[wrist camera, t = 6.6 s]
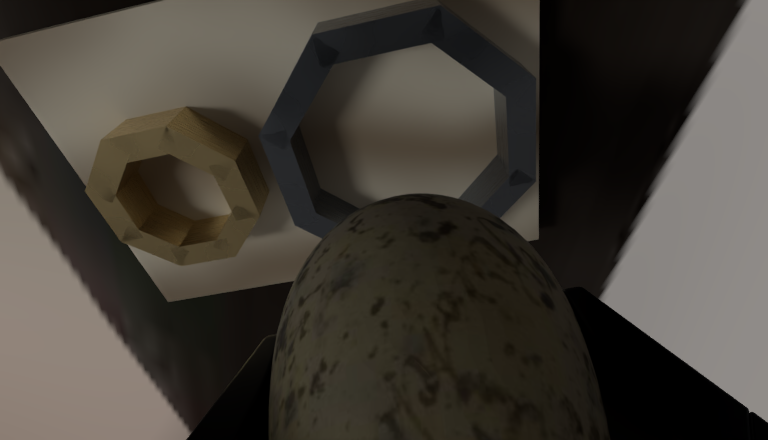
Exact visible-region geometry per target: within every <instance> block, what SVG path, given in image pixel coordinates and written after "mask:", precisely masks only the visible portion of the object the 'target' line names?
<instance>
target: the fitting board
mask: <svg viewBox="0 0 768 440" xmlns="http://www.w3.org/2000/svg"><path fill="white" fill-rule="evenodd" d="M408 1H413V0H156V1H152V2H148V3H144V4H140V5H136V6H132V7H128V8H124V9H120V10H116V11H112V12H108V13H104V14H100V15H96V16H92V17H88V18H84V19H79V20H75V21H71V22H67V23H63V24H59V25H55V26H51V27H47V28H43V29H39V30H35V31H31V32H27V33H23V34H19V35H15V36H11V37H7V38H4V39H1V40H0V66H1V67H2V68H3V70H4V71H5V73H6V74H7V75H8V77H9V78H10V80H11V81H12V82H13V84H14V85H15V87H16V88H17V90H18V91H19V92H20V94H21V95H22V97H23V98H24V99H25V101H26V102H27V104H28V105H29V106H30V108H31V109H32V111H33V112H34V113H35V115H36V116H37V118H38V119H39V121H40V122H41V123H42V125H43V126H44V128H45V129H46V130H47V132H48V133H49V135H50V136H51V137H52V139H53V140H54V142H55V143H56V144H57V146H58V147H59V149H60V150H61V152H62V153H63V154H64V156H65V157H66V159H67V160H68V161H69V163H70V164H71V166H72V167H73V168H74V170H75V171H76V173H77V174H78V175H79V177H80V178H81V180H82V181H83V183H84V184H85V185H86V186H87V183H88V180H89V176H90V173H91V170H92V167H93V163H94V160H95V157H96V153H97V150H98V147H99V143H100V140H101V139H102V138H104V137H105V136H106V135H107V134H109V133H110V132H111V131H112V130H114V129H115V128H116V127H117V126H119V125H120V124H121V123H122V122H124V121H125V120H126V119H131V118H135V117H140V116H144V115H149V114H153V113H158V112H163V111H167V110H172V109H176V108H181V107H188V108H190V109H192V110H194V111H196V112H198V113H199V114H201V115H203V116H205V117H207V118H209V119H211V120H213V121H214V122H216V123H218V124H220V125H222V126H224V127H226V128H228V129H229V130H231V131H233V132H235V133H237V134H239V135H241V136H243V137H244V138H246V139H248V142H249V144H250V146H251V149H252V151H253V153H254V156H255V158H256V160H257V163H258V165H259V168H260V170H261V172H262V175H263V177H264V179H265V182H266V184H267V186H268V189H269V194H268V197H267V199H266V202H265V204H264V207H263V210H262V212H261V215H260V217H259V218H258V220H257V222H256V223H255V225H254V227H253V228H252V230H251V232H250V234H249V235H248V237H247V239H246V240H245V242H244V244H243V245H242V247H241V249H240V250H239V252H238V254H237V255H236V257H231V258H225V259H220V260H214V261H208V262H203V263H197V264H191V265H186V266H179V265H177V264H174V263H172V262H169V261H167V260H165V259H162V258H160V257H157V256H155V255H152V254H150V253H147V252H145V251H142V250H140V249H138V248H135V247H133V246H130V245H128V244H127V245H128V246H129V247H130V249H131V250H132V252H133V253H134V254H135V256H136V257H137V259H138V260H139V261H140V263H141V264H142V266H143V267H144V268H145V270H146V271H147V273H148V274H149V276H150V277H151V278H152V280H153V281H154V283H155V284H156V285H157V287H158V288H159V290H160V291H161V292H162V294H163V295H164V297H165V298H166V299H167V301H168V302H171V301H177V300H183V299H189V298H195V297H201V296H206V295H212V294H218V293H224V292H230V291H236V290H242V289H248V288H254V287H260V286H265V285H271V284H277V283H283V282H289V281H295V279H296V277H297V275H298V273H299V271H300V269H301V268H302V266H303V264H304V262H305V261H306V259H307V258H308V256H309V255H310V254H311V252H312V251H313V249H314V248H315V247H316V246H317V244H318V243H319V242H320V241H321V240H322V238H320V237H318V236H316V235H313V234H311V233H309V232H307V231H305V230H303V229H301V228H299V227H297V226H295V225H294V222H293V220H292V217H291V215H290V212H289V210H288V207H287V205H286V202H285V200H284V197H283V195H282V193H281V190H280V188H279V185H278V183H277V180H276V178H275V175H274V173H273V170H272V168H271V165H270V163H269V160H268V158H267V156H266V153H265V151H264V148H263V146H262V143H261V141H260V138H259V136H258V135H259V134H260V132H261V130H262V128H263V126H264V124H265V122H266V121H267V119H268V117H269V115H270V113H271V111H272V109H273V107H274V105H275V104H276V102H277V100H278V98H279V96H280V94H281V92H282V90H283V88H284V86H285V84H286V83H287V81H288V79H289V77H290V75H291V73H292V71H293V69H294V67H295V65H296V63H297V62H298V60H299V58H300V56H301V54H302V52H303V50H304V48H305V46H306V44H307V42H308V41H309V39H310V37H311V34H312V32H313V31H314V29H315V27H316V25H317V23H318V22H322V21H327V20H331V19H335V18H339V17H344V16H348V15H352V14H357V13H361V12H365V11H370V10H374V9H378V8H383V7H387V6H391V5H396V4H400V3H404V2H408ZM439 1H440V2H442V3H443V4H444V5H446V6H447V7H448V8H449V9H451V10H452V11H453V12H455V13H456V14H457V15H459V16H460V17H461V18H462V19H464V20H465V21H466V22H468V23H469V24H470V25H472V26H473V27H474V28H475V29H477V30H478V31H479V32H481V33H482V34H483V35H485V36H486V37H487V38H488V39H490V40H491V41H492V42H494V43H495V44H496V45H498V46H499V47H500V48H501V49H503V50H504V51H505V52H507V53H508V54H509V55H511V56H512V57H513V58H514V59H516V60H517V61H518V62H520V63H521V64H522V65H523V66H524V67H525V68H526V69H527V70H528V71H529V72H530V73H531V74H532V75H533V76H534V77H535V78H536V182H535V183H534V184H533V185H532V186H531V187H530V188H529V189H528V190H527V191H526V192H525V193H524V194H523V195H522V196H521V197H520V198H519V199H518V200H517V201H516V202H515V203H514V204H513V205H512V206H511V207H510V209H509V210H508V211H507V212H506V213H505V214H504V215H503V216H502V217H501V218H500V219H501V220H503V221H504V222H505V223H507V224H508V225H509V226H511V227H512V228H513V229H515V230H516V231H517V232H518V233H519V234H520V235H521V236H522V237H523V238H524V239H525V240H526V241H531V240H537V239H539V13H540V0H439ZM299 126H300V129H301V132H302V135H303V138H304V141H305V144H306V147H307V150H308V153H309V156H310V159H311V161H312V164H313V167H314V170H315V173H316V176H317V179H318V182H319V185H320V188H321V189H323V190H325V191H327V192H329V193H331V194H333V195H335V196H336V197H338V198H340V199H342V200H344V201H346V202H348V203H350V204H352V205H354V206H355V207H357V208H359V209H361V208H363V207H365V206H367V205H369V204H371V203H374V202H377V201H379V200H383V199H386V198H390V197H393V196H399V195H405V194H416V193H428V194H438V195H444V196H449V197H454V198H459V197H460V196H461V195H462V194H463V193H464V192H465V190H466V189H467V188H468V187H469V186H470V185H471V184H472V182H473V181H474V180H475V179H476V178H477V177H478V176H479V175H480V173H481V172H482V171H483V170H484V169H485V168H486V167H487V166H488V164H489V163H490V162H491V161H492V160H493V159H494V158H495V156H496V155H497V141H496V123H495V106H494V89H493V87H492V86H490V85H489V84H487V83H486V82H485V81H483V80H482V79H480V78H479V77H478V76H476V75H475V74H474V73H472V72H471V71H469V70H468V69H467V68H465V67H464V66H462V65H461V64H460V63H458V62H457V61H456V60H454V59H453V58H451V57H450V56H449V55H447V54H446V53H444V52H443V51H442V50H440V49H439V48H438V47H436V46H435V45H433V44H432V43H428V44H424V45H419V46H415V47H410V48H406V49H401V50H396V51H392V52H387V53H383V54H378V55H374V56H369V57H365V58H360V59H356V60H351V61H347V62H342V63H338V64H333V66H332V68H331V70H330V71H329V73H328V75H327V77H326V78H325V80H324V82H323V84H322V85H321V87H320V89H319V91H318V92H317V94H316V96H315V98H314V99H313V101H312V103H311V105H310V106H309V108H308V110H307V112H306V113H305V115H304V117H303V119H302V120H301V122H300V124H299ZM138 172H139V174H140V176H141V177H142V179H143V181H144V182H145V184H146V185H147V187H148V189H149V190H150V192H151V194H152V195H153V197H154V199H155V200H156V202H157V203H158V204H159V205H161V206H163V207H166V208H168V209H170V210H172V211H174V212H177V213H179V214H181V215H183V216H186V217H188V218H190V219H192V220H195V221H196V220H201V219H206V218H211V217H217V216H222V215H227V214H230V212H231V209H230V207H229V205H228V203H227V201H226V199H225V197H224V195H223V193H222V191H221V189H220V187H219V185H218V183H217V181H216V179H215V177H214V176H213V175H211V174H209V173H207V172H205V171H203V170H201V169H199V168H197V167H195V166H193V165H191V164H188V163H186V162H184V161H182V160H180V159H178V158H176V157H174V156H172V155H170V154H167V155H162V156H158V157H153V158H148V159H143V160H142V162H141V165H140V167H139V170H138Z"/></svg>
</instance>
